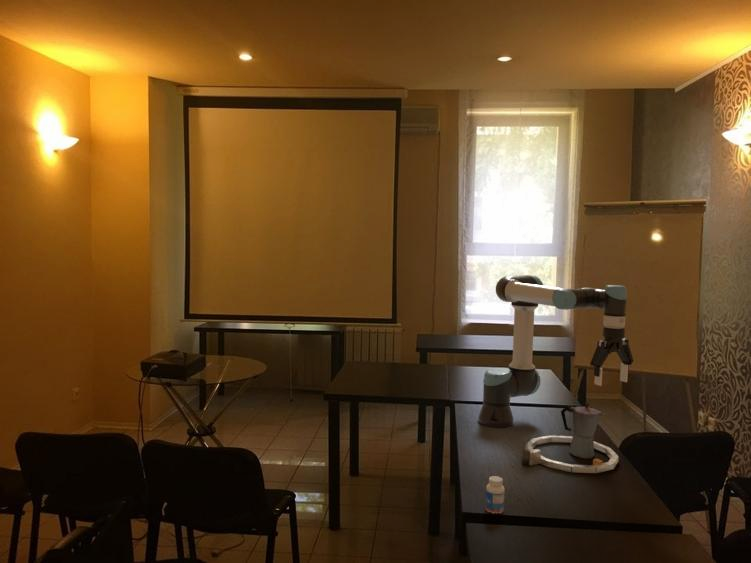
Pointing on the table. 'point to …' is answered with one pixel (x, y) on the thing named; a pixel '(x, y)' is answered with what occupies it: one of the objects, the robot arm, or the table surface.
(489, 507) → the pill bottle
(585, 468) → the indicator ring
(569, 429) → the moka pot
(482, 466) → the table surface
